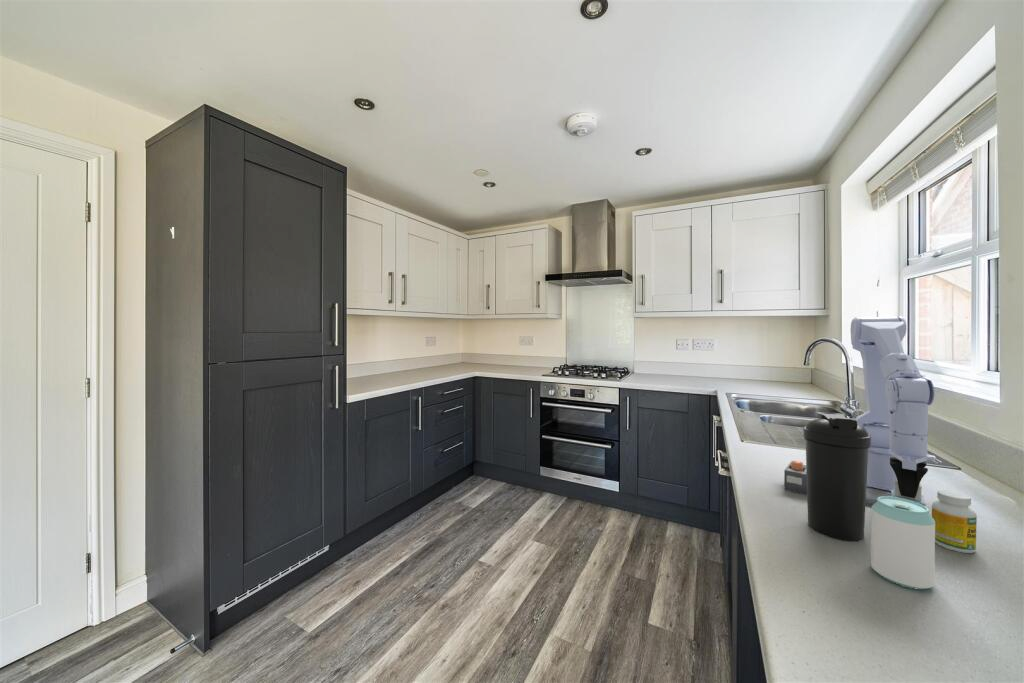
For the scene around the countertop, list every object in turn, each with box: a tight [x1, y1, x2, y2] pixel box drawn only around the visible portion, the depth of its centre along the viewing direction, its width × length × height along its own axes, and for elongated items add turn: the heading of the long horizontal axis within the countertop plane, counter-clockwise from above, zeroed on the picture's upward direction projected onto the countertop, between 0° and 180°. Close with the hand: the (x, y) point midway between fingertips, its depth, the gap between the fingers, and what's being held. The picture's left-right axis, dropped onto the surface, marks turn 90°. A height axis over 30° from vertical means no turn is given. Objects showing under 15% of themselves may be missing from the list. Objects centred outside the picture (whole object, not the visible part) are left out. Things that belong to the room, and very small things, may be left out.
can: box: [870, 495, 936, 590], centre depth 60 cm, size 7×7×12 cm
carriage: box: [890, 479, 926, 507], centre depth 82 cm, size 6×5×6 cm
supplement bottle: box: [931, 489, 978, 554], centre depth 69 cm, size 5×5×10 cm
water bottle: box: [802, 411, 871, 542], centre depth 75 cm, size 10×10×23 cm
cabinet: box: [783, 462, 807, 496], centre depth 96 cm, size 8×6×5 cm
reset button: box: [790, 460, 804, 471], centre depth 96 cm, size 2×2×4 cm
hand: (907, 494), depth 82 cm, fingers closed on carriage, 2 cm apart
